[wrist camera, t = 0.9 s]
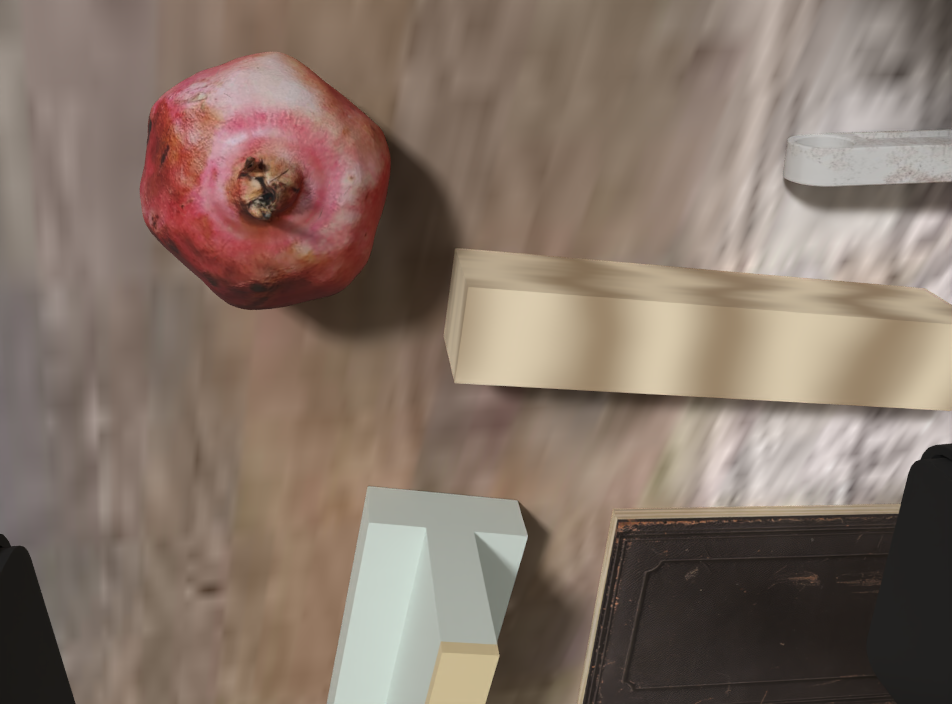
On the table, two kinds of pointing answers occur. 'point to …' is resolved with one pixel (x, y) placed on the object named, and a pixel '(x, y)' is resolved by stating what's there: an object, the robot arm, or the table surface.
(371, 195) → the fruit
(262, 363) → the table surface
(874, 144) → the wrench
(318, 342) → the table surface
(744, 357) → the birch bar
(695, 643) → the hardcover book
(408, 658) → the ridge stand
